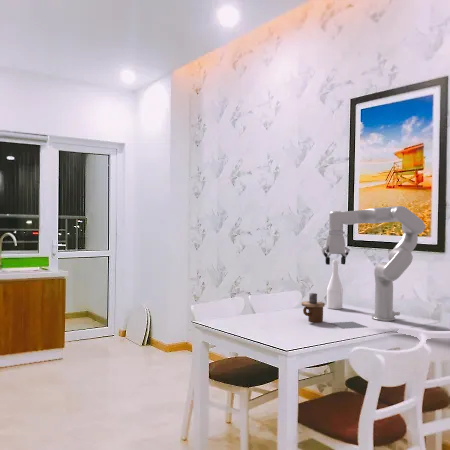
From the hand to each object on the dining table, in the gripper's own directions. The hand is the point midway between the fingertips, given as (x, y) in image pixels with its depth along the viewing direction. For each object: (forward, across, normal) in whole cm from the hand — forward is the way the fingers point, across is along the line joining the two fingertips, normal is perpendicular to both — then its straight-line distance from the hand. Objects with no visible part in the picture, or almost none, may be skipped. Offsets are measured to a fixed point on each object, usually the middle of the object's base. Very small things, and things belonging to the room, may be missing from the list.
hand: (335, 264), depth 276 cm
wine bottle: (+31, -18, -31) cm, 47 cm away
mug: (+30, +18, +8) cm, 36 cm away
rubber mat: (+30, +4, +20) cm, 36 cm away
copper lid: (+21, +18, +8) cm, 29 cm away
